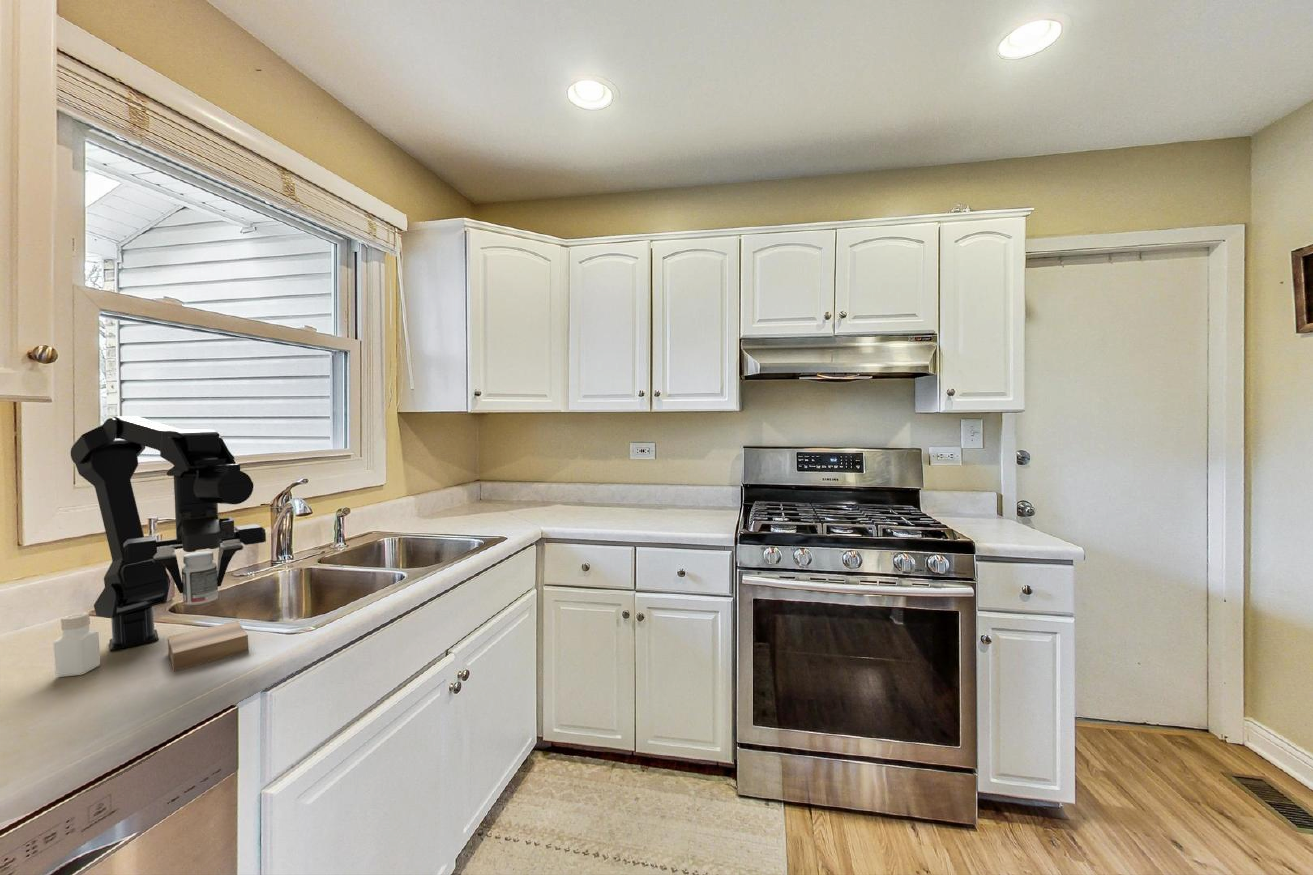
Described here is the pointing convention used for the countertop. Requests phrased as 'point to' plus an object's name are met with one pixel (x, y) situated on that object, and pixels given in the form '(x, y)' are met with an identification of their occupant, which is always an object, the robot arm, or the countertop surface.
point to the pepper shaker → (76, 646)
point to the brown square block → (207, 645)
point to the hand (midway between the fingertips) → (200, 589)
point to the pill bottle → (199, 578)
